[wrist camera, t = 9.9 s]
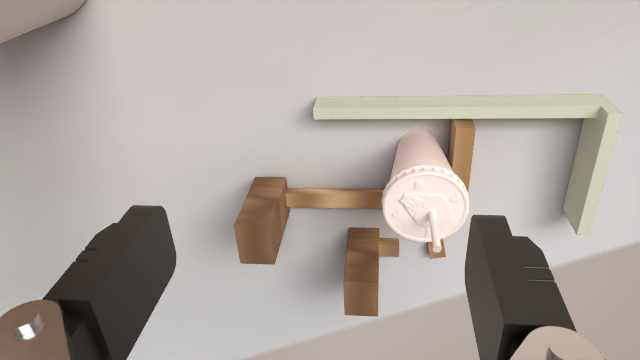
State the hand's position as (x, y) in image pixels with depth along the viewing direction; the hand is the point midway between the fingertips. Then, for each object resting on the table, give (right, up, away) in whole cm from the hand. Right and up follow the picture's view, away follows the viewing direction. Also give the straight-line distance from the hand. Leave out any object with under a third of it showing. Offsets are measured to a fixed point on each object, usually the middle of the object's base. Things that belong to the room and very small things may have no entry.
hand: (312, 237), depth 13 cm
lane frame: (+12, +4, +31) cm, 34 cm away
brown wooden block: (+8, -5, +37) cm, 39 cm away
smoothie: (+9, +4, +32) cm, 33 cm away
